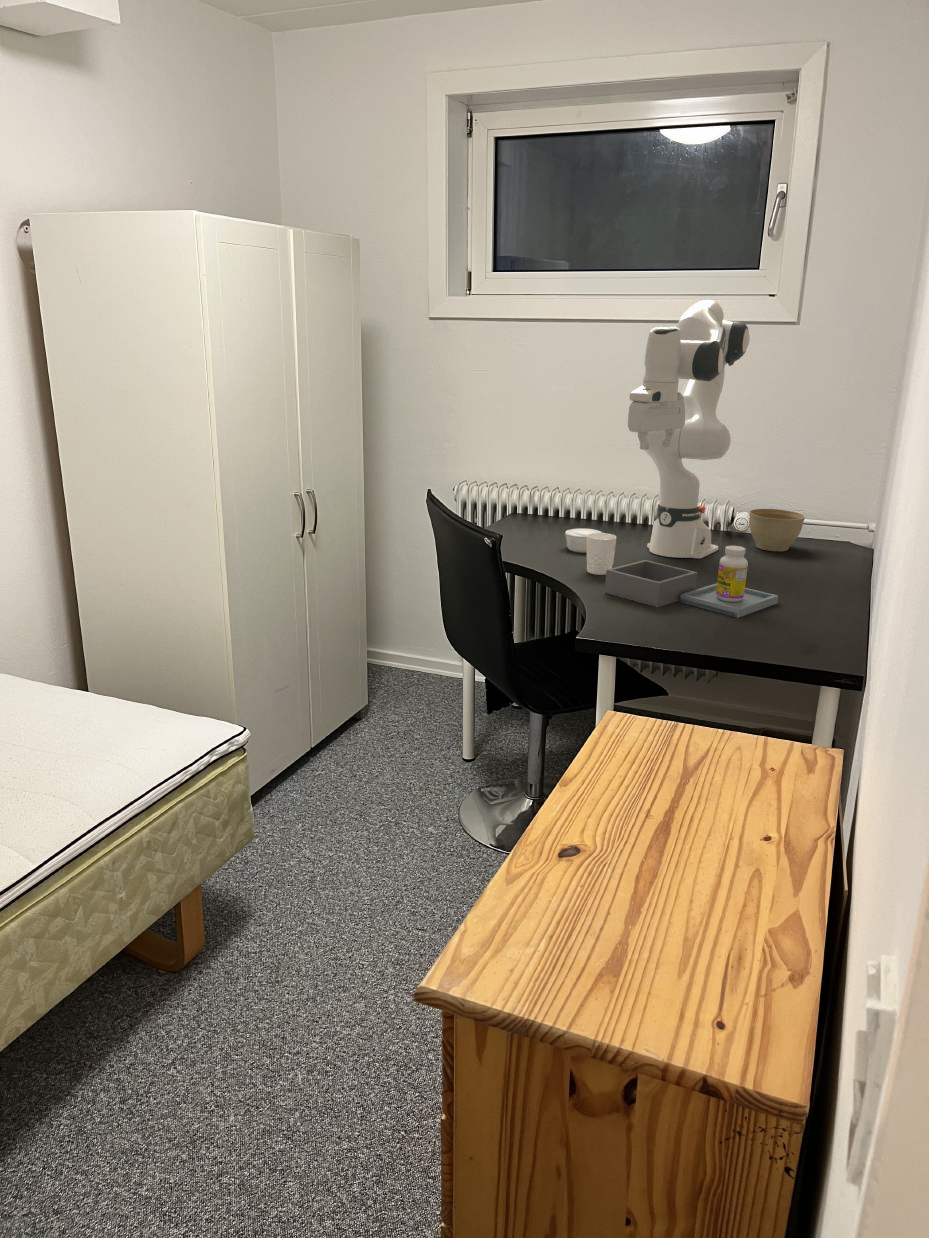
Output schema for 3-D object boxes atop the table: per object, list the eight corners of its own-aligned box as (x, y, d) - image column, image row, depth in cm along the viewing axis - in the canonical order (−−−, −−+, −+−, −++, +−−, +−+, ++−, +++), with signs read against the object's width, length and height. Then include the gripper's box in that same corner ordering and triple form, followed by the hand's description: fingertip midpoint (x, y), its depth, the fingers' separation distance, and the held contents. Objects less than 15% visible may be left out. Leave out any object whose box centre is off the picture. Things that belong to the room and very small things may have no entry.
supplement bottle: (709, 596, 225) (715, 545, 221) (732, 594, 227) (737, 543, 223) (726, 603, 219) (732, 552, 215) (749, 601, 221) (755, 550, 217)
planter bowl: (774, 557, 269) (779, 521, 266) (734, 545, 282) (738, 511, 279) (811, 551, 277) (816, 516, 273) (770, 540, 290) (774, 506, 287)
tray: (720, 589, 235) (721, 581, 234) (777, 603, 223) (778, 595, 223) (680, 602, 223) (680, 594, 222) (738, 617, 212) (739, 609, 211)
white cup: (613, 576, 244) (615, 540, 241) (583, 574, 246) (585, 538, 243) (614, 569, 252) (617, 533, 249) (585, 567, 253) (588, 532, 250)
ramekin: (561, 552, 270) (562, 534, 268) (567, 543, 280) (568, 527, 279) (599, 555, 267) (600, 537, 266) (604, 546, 278) (605, 529, 276)
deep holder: (643, 581, 240) (645, 559, 238) (695, 595, 229) (697, 572, 227) (604, 592, 229) (606, 569, 228) (657, 607, 218) (659, 583, 216)
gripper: (673, 391, 241) (668, 444, 245) (625, 393, 227) (621, 449, 232) (693, 392, 236) (688, 446, 240) (646, 395, 223) (641, 452, 227)
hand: (655, 448), depth 236 cm, fingers open, 8 cm apart
